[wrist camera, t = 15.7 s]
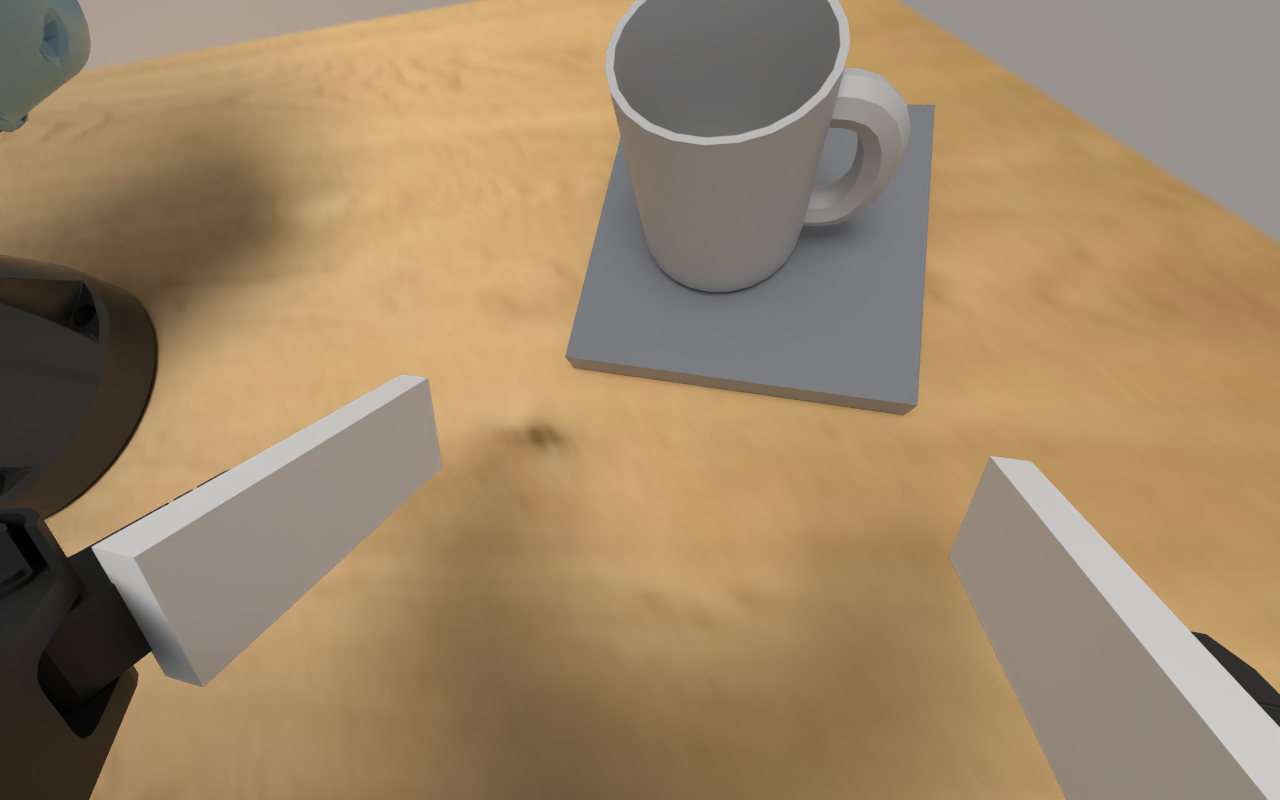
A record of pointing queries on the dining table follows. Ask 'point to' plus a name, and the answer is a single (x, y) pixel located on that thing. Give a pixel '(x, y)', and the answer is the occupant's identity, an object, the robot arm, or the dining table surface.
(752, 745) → the dining table surface
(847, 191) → the cup
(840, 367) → the slate tile
